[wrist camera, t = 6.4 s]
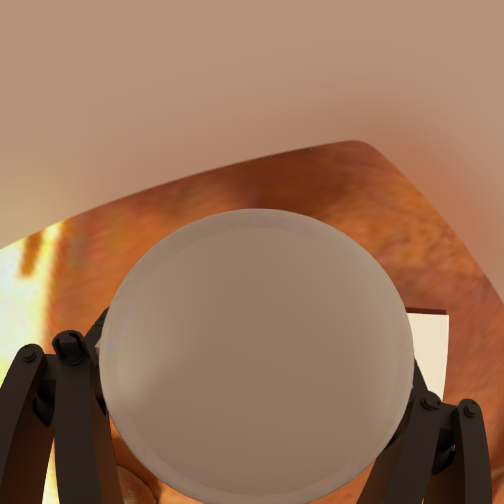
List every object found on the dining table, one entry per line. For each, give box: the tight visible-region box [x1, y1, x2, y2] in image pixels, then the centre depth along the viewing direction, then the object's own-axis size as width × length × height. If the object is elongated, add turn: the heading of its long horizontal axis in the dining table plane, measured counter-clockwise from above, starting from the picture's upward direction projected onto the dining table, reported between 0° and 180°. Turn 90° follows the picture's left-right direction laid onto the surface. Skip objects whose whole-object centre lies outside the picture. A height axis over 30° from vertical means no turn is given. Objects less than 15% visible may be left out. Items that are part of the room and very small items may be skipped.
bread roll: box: [116, 465, 156, 504], centre depth 18 cm, size 10×10×8 cm
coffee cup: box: [99, 209, 414, 504], centre depth 12 cm, size 9×9×12 cm
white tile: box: [407, 313, 449, 401], centre depth 24 cm, size 12×12×1 cm
